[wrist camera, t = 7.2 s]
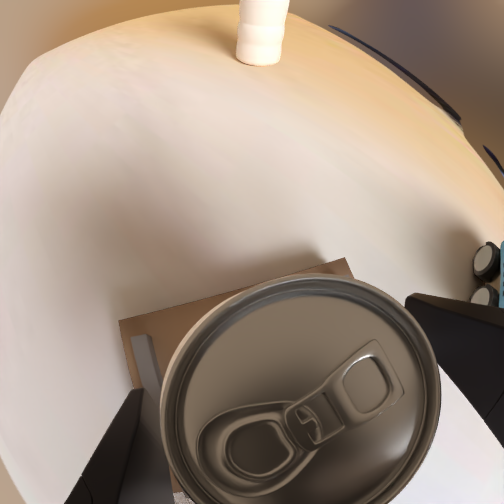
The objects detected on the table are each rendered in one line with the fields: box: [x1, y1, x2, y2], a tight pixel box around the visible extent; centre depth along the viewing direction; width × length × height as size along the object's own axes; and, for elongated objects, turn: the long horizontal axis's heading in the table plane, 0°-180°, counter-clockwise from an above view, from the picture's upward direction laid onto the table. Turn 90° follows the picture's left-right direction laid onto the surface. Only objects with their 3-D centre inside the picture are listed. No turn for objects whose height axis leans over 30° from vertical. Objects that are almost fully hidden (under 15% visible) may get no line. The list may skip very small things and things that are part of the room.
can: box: [160, 273, 441, 504], centre depth 9 cm, size 6×6×12 cm
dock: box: [119, 257, 354, 498], centre depth 16 cm, size 12×16×4 cm
